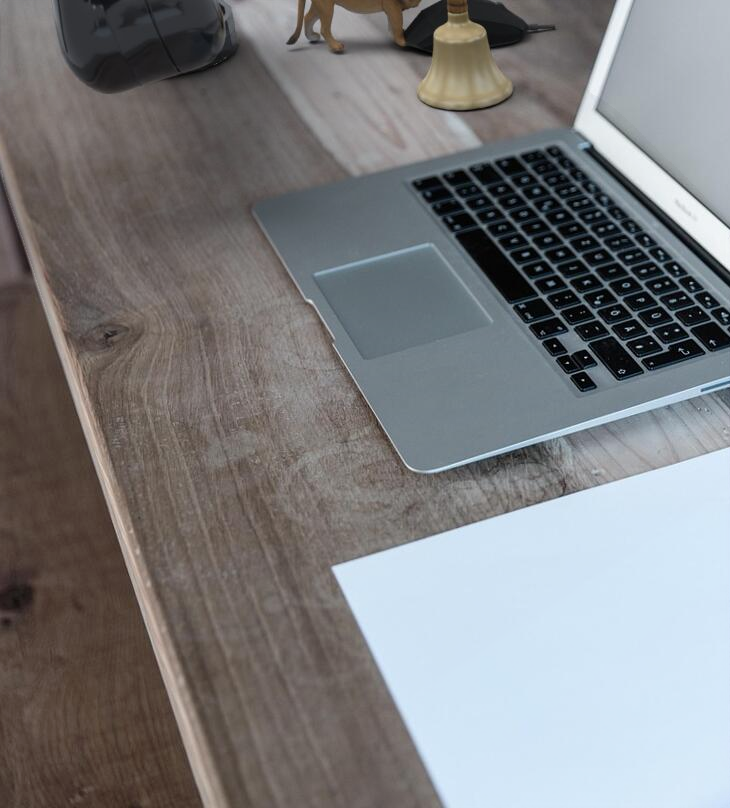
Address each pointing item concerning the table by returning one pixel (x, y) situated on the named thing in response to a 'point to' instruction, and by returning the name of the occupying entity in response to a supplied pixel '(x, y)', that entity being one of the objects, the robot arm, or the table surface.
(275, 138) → the table surface
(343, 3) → the lion figurine
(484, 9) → the gaming mouse
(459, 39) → the hand bell
